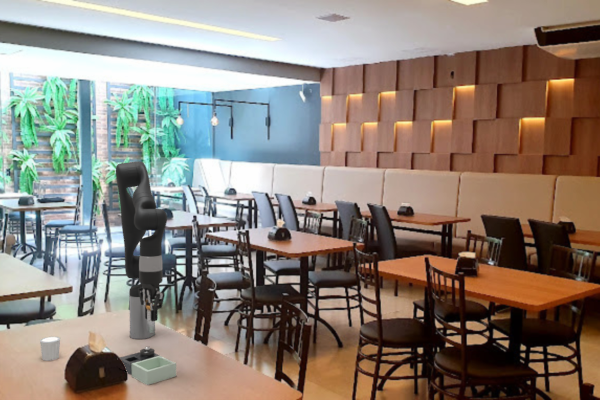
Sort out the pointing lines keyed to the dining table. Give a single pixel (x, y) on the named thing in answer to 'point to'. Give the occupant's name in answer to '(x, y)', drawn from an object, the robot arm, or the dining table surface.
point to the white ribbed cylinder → (50, 348)
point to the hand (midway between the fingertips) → (151, 319)
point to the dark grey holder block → (138, 358)
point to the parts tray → (153, 370)
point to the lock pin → (150, 323)
